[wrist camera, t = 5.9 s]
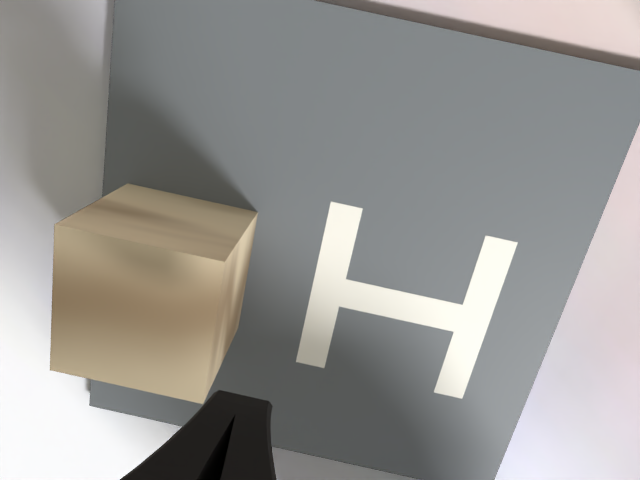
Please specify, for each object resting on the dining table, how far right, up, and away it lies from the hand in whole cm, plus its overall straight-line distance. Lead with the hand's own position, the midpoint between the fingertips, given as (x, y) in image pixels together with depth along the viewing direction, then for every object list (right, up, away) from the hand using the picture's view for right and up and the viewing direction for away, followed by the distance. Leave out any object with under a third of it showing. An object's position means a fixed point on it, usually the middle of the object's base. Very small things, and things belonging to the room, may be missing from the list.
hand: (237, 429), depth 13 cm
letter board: (+2, +4, +8) cm, 9 cm away
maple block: (-3, +4, +8) cm, 10 cm away
